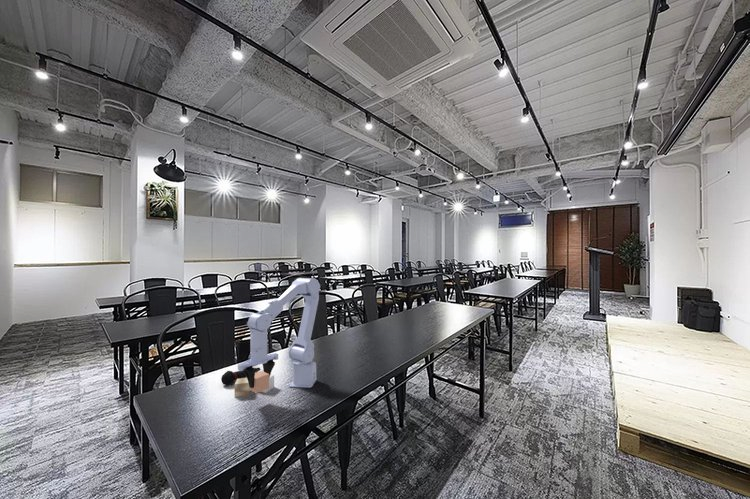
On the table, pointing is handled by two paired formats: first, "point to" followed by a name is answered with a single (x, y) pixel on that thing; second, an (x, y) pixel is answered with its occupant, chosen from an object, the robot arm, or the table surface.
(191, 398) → the table surface
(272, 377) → the white block
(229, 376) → the microphone
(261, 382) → the peach block
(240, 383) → the birch block
